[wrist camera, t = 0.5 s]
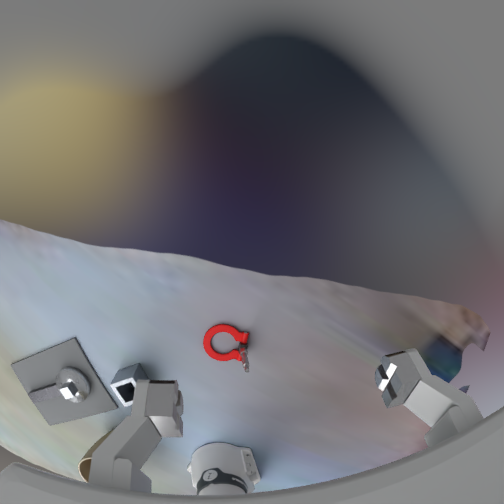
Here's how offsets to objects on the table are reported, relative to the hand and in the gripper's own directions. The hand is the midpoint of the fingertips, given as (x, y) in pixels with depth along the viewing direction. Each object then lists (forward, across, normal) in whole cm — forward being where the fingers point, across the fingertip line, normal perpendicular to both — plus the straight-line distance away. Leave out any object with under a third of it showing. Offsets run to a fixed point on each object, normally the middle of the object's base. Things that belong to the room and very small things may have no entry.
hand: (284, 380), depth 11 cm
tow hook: (+38, -3, -39) cm, 55 cm away
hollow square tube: (+33, -25, -46) cm, 62 cm away
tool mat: (+30, -47, -49) cm, 74 cm away
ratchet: (+30, -47, -48) cm, 74 cm away
